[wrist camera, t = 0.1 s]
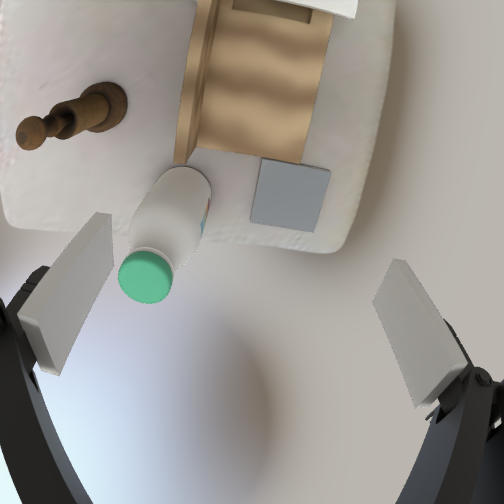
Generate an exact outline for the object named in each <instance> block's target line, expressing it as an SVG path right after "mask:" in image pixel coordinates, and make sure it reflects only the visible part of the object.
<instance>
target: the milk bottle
mask: <svg viewBox="0 0 504 504" xmlns="http://www.w3.org/2000/svg"><path fill="white" fill-rule="evenodd" d="M210 201H211V188H210V185H209V183H208V181H207V180H206V178H205V177H204V176H203V175H202V174H201V173H200V172H198V171H196V170H195V169H192V168H189V167H175V168H172V169H169V170H168V171H166V172H165V173H164V174H162V176H161V177H160V178H159V179H158V180H157V182H156V183H155V184H154V186H153V187H152V188H151V190H150V191H149V192H148V194H147V195H146V197H145V198H144V199H143V201H142V202H141V204H140V205H139V207H138V209H137V210H136V212H135V214H134V216H133V218H132V220H131V223H130V227H129V245H130V252H129V253H128V254H127V256H126V258H125V260H124V261H123V263H122V265H121V267H120V269H119V274H118V281H119V284H120V287H121V288H122V290H123V291H124V292H125V293H126V294H127V295H128V296H129V297H130V298H132V299H133V300H136V301H138V302H141V303H146V304H152V303H157V302H160V301H162V300H163V299H164V298H165V297H166V296H167V295H168V293H169V291H170V289H171V286H172V281H173V279H174V271H175V270H177V269H178V268H180V267H182V266H183V265H184V264H186V263H187V262H188V261H189V260H190V258H191V257H192V256H193V254H194V253H195V251H196V249H197V247H198V245H199V242H200V239H201V236H202V233H203V229H204V225H205V221H206V218H207V214H208V210H209V206H210Z"/></svg>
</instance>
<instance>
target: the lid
mask: <svg viewBox="0 0 504 504" xmlns="http://www.w3.org/2000/svg"><path fill="white" fill-rule="evenodd" d="M276 1H281V2H286V3H291V4H295V5H300V6H304V7H308V8H312V9H316V10H319V11H323V12H327V13H330V14H334V15H337V16H340V17H343V18H347V19H350V20H354V19H355V15H356V10H357V5H358V0H276ZM195 2H196V3H197V4H198V0H195Z"/></svg>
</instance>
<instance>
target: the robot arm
mask: <svg viewBox="0 0 504 504" xmlns="http://www.w3.org/2000/svg"><path fill="white" fill-rule="evenodd" d="M113 267H114V260H113V243H112V218H111V214H106V213H98V212H96V213H95V214H94V215H93V216H92V217H91V219H90V220H89V221H88V222H87V223H86V224H85V225H84V227H83V228H82V229H81V230H80V231H79V232H78V234H77V235H76V236H75V237H74V239H73V240H72V241H71V242H70V243H69V245H68V246H67V247H66V248H65V249H64V251H63V252H62V253H61V254H60V256H59V257H58V258H57V260H56V261H55V262H54V263H53V265H52V266H51V267H47V266H41V267H40V268H38V269H37V270H35V271H34V272H32V274H31V275H30V276H29V278H28V279H27V280H26V283H24V284H23V285H22V287H21V289H20V290H19V291H18V292H17V293H16V295H15V296H14V298H13V299H12V300H11V302H10V303H9V304H8V306H7V307H6V308H5V305H4V303H3V300H2V299H1V298H0V446H1V449H2V453H3V455H4V459H5V461H6V464H7V466H8V470H9V473H10V475H11V478H12V480H13V483H14V485H15V488H16V490H17V493H18V495H19V497H20V499H21V502H22V504H93V503H92V501H91V499H90V497H89V496H88V494H87V492H86V491H85V489H84V487H83V485H82V484H81V482H80V480H79V478H78V476H77V474H76V472H75V470H74V468H73V467H72V464H71V462H70V460H69V458H68V456H67V454H66V452H65V450H64V448H63V446H62V444H61V441H60V439H59V437H58V435H57V432H56V430H55V428H54V425H53V423H52V420H51V418H50V415H49V413H48V410H47V407H46V405H45V402H44V399H43V396H42V394H41V391H40V388H39V385H38V382H37V379H36V375H35V373H34V371H33V367H34V365H35V363H36V361H37V362H38V364H39V367H40V369H41V370H42V371H45V372H48V373H50V374H54V375H57V376H59V375H60V373H61V371H62V369H63V366H64V364H65V362H66V360H67V357H68V355H69V353H70V351H71V348H72V346H73V344H74V342H75V340H76V338H77V336H78V334H79V332H80V330H81V327H82V326H83V324H84V321H85V319H86V317H87V315H88V313H89V312H90V310H91V307H92V306H93V303H94V302H95V300H96V298H97V296H98V294H99V292H100V290H101V288H102V287H103V285H104V283H105V281H106V279H107V277H108V276H109V274H110V272H111V270H112V268H113ZM373 305H374V307H375V309H376V312H377V313H378V316H379V318H380V321H381V323H382V325H383V328H384V330H385V332H386V334H387V337H388V339H389V342H390V344H391V346H392V349H393V351H394V354H395V356H396V359H397V361H398V364H399V366H400V369H401V372H402V374H403V377H404V379H405V382H406V385H407V387H408V390H409V393H410V395H411V398H412V401H413V404H414V406H415V408H422V407H429V406H430V405H431V404H432V403H433V402H434V401H435V400H436V399H437V398H438V400H439V402H440V404H439V405H438V406H437V407H436V408H435V409H434V410H433V411H432V412H431V413H430V414H429V415H428V416H427V417H426V419H425V420H428V419H429V418H430V417H432V416H433V418H432V420H431V421H430V426H429V429H428V432H427V434H426V437H425V439H424V442H423V445H422V447H421V450H420V452H419V454H418V457H417V459H416V462H415V464H414V466H413V468H412V471H411V473H410V475H409V477H408V479H407V481H406V484H405V486H404V488H403V490H402V492H401V494H400V496H399V498H398V500H397V502H396V504H504V380H503V381H502V382H501V383H499V382H495V381H493V380H492V378H491V376H490V375H489V373H488V372H487V371H486V370H484V369H482V368H480V367H474V365H473V364H472V362H471V360H470V358H469V356H468V354H467V353H466V351H465V349H464V347H463V345H462V344H460V340H459V339H458V337H456V333H455V331H454V330H453V328H452V326H450V324H449V323H448V322H447V321H446V320H445V319H443V318H442V316H441V315H440V313H439V311H438V310H437V308H436V306H435V305H434V304H433V302H432V300H431V298H430V297H429V295H428V294H427V292H426V291H425V289H424V287H423V286H422V284H421V283H420V281H419V280H418V279H417V277H416V275H415V274H414V272H413V271H412V269H411V268H410V266H409V265H408V263H407V262H406V261H405V260H399V259H393V260H392V262H391V264H390V267H389V269H388V271H387V273H386V275H385V277H384V279H383V281H382V283H381V285H380V287H379V289H378V291H377V293H376V295H375V297H374V299H373ZM500 418H501V424H500V425H499V426H498V427H497V428H495V427H494V423H495V422H497V421H498V420H499V419H500Z"/></svg>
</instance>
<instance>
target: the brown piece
mask: <svg viewBox="0 0 504 504" xmlns="http://www.w3.org/2000/svg"><path fill="white" fill-rule="evenodd" d="M333 17H334V14H330V13H327V12H323V11H319V10H316V9H312V8H308V7H304V6H300V5H295V4H291V3H286V2H281V1H276V0H198V5H197V9H196V14H195V19H194V24H193V29H192V34H191V39H190V45H189V50H188V56H187V62H186V68H185V74H184V80H183V87H182V94H181V101H180V108H179V115H178V123H177V132H176V140H175V149H174V159H173V163H179V164H185V163H186V162H187V160H188V159H189V157H190V156H191V154H192V152H193V151H194V149H195V148H196V147H200V148H208V149H215V150H222V151H229V152H235V153H241V154H248V155H254V156H260V157H265V158H271V159H276V160H282V161H287V162H292V163H297V164H300V162H301V158H302V154H303V150H304V146H305V142H306V137H307V133H308V129H309V125H310V121H311V116H312V112H313V108H314V103H315V99H316V95H317V90H318V86H319V82H320V77H321V73H322V68H323V64H324V59H325V55H326V50H327V45H328V41H329V36H330V31H331V27H332V22H333Z"/></svg>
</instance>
